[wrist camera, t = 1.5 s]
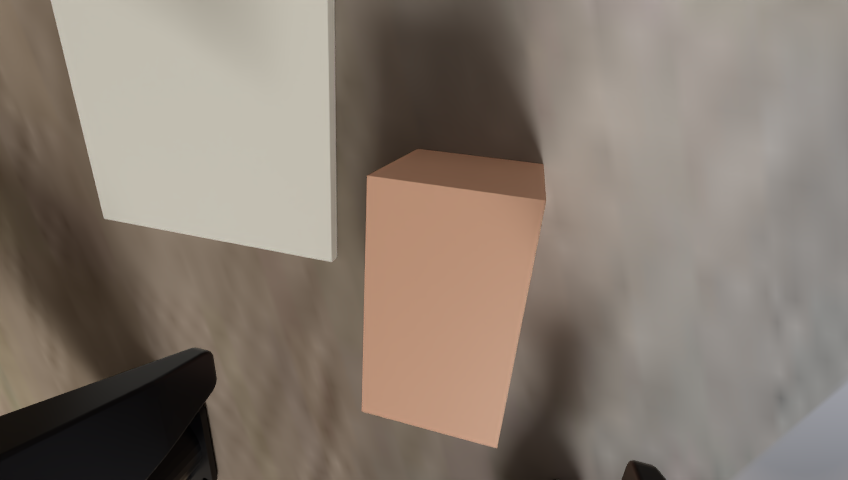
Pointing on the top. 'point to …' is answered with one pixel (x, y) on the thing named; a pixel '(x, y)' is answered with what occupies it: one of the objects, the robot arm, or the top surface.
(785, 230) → the top surface
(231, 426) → the top surface
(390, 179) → the tan rectangular block
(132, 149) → the mat
